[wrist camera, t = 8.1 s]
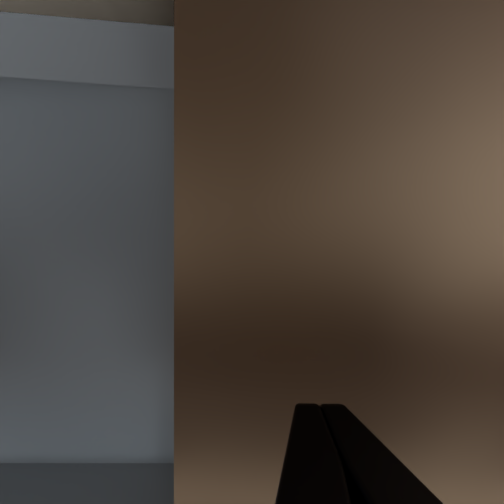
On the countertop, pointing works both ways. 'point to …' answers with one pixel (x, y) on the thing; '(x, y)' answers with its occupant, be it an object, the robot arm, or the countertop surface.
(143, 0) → the countertop surface
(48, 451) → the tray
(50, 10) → the countertop surface
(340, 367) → the deck
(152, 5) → the countertop surface
